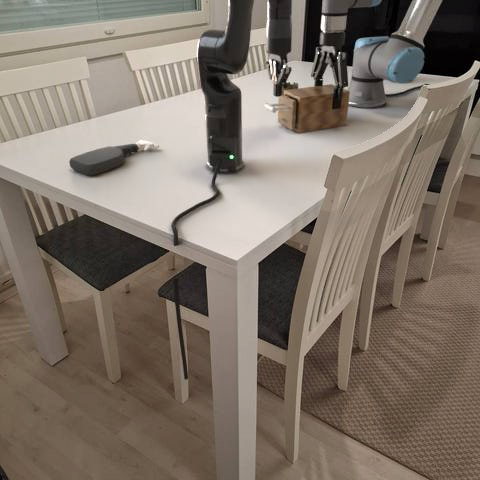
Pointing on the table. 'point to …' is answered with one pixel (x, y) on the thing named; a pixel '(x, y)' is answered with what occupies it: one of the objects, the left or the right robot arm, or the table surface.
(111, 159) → the spray bottle
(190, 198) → the table surface
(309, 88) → the cabinet
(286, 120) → the drawer
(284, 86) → the cup
